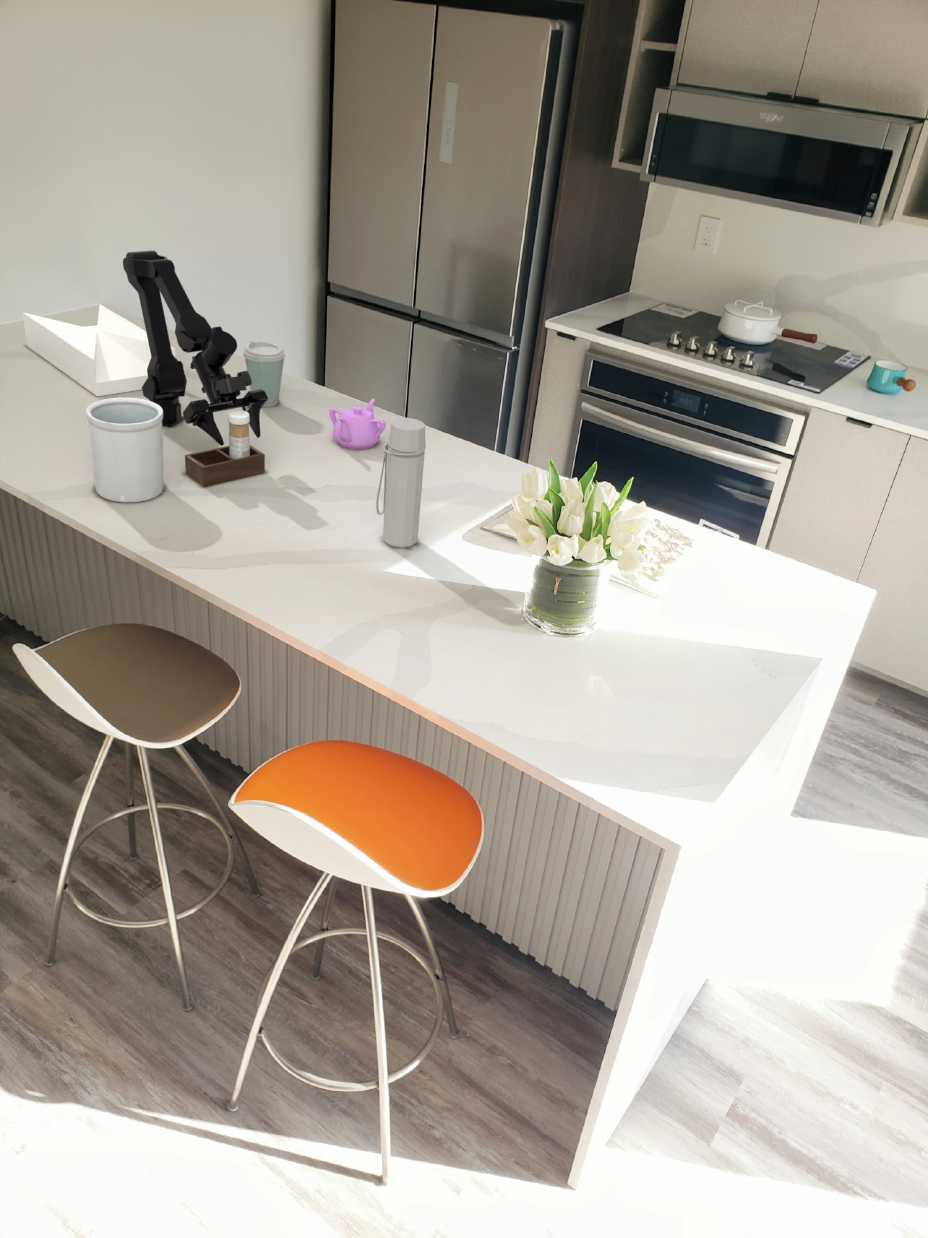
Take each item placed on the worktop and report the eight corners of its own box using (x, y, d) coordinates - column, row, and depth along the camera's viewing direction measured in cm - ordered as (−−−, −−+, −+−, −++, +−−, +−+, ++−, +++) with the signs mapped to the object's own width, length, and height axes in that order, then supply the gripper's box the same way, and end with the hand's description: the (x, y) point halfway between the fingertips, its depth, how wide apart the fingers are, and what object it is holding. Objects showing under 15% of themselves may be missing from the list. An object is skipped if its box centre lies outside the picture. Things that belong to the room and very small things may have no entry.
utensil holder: (182, 486, 216) (178, 408, 207) (135, 510, 205) (128, 429, 196) (127, 469, 221) (121, 391, 212) (78, 492, 209) (69, 411, 200)
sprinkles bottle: (243, 464, 229) (243, 407, 222) (253, 471, 226) (253, 414, 219) (225, 468, 227) (224, 410, 220) (235, 475, 224) (234, 417, 217)
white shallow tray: (177, 383, 269) (175, 348, 264) (97, 396, 256) (93, 359, 251) (102, 336, 296) (99, 303, 291) (26, 345, 283) (22, 311, 278)
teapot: (338, 453, 240) (339, 417, 235) (326, 431, 251) (327, 397, 246) (386, 451, 244) (388, 416, 239) (372, 430, 255) (374, 396, 250)
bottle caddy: (185, 473, 222) (184, 454, 220) (245, 460, 231) (245, 441, 229) (204, 487, 217) (203, 467, 215) (264, 472, 226) (264, 454, 224)
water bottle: (423, 537, 207) (433, 421, 194) (409, 553, 201) (418, 434, 188) (382, 527, 209) (389, 412, 196) (367, 542, 203) (373, 424, 190)
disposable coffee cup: (293, 403, 265) (294, 346, 257) (265, 413, 257) (265, 355, 249) (263, 392, 270) (262, 336, 262) (234, 402, 262) (233, 345, 254)
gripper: (186, 365, 211) (216, 432, 210) (263, 353, 222) (291, 417, 222) (170, 390, 220) (198, 454, 219) (244, 377, 231) (271, 439, 230)
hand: (241, 440), depth 222 cm, fingers open, 9 cm apart
